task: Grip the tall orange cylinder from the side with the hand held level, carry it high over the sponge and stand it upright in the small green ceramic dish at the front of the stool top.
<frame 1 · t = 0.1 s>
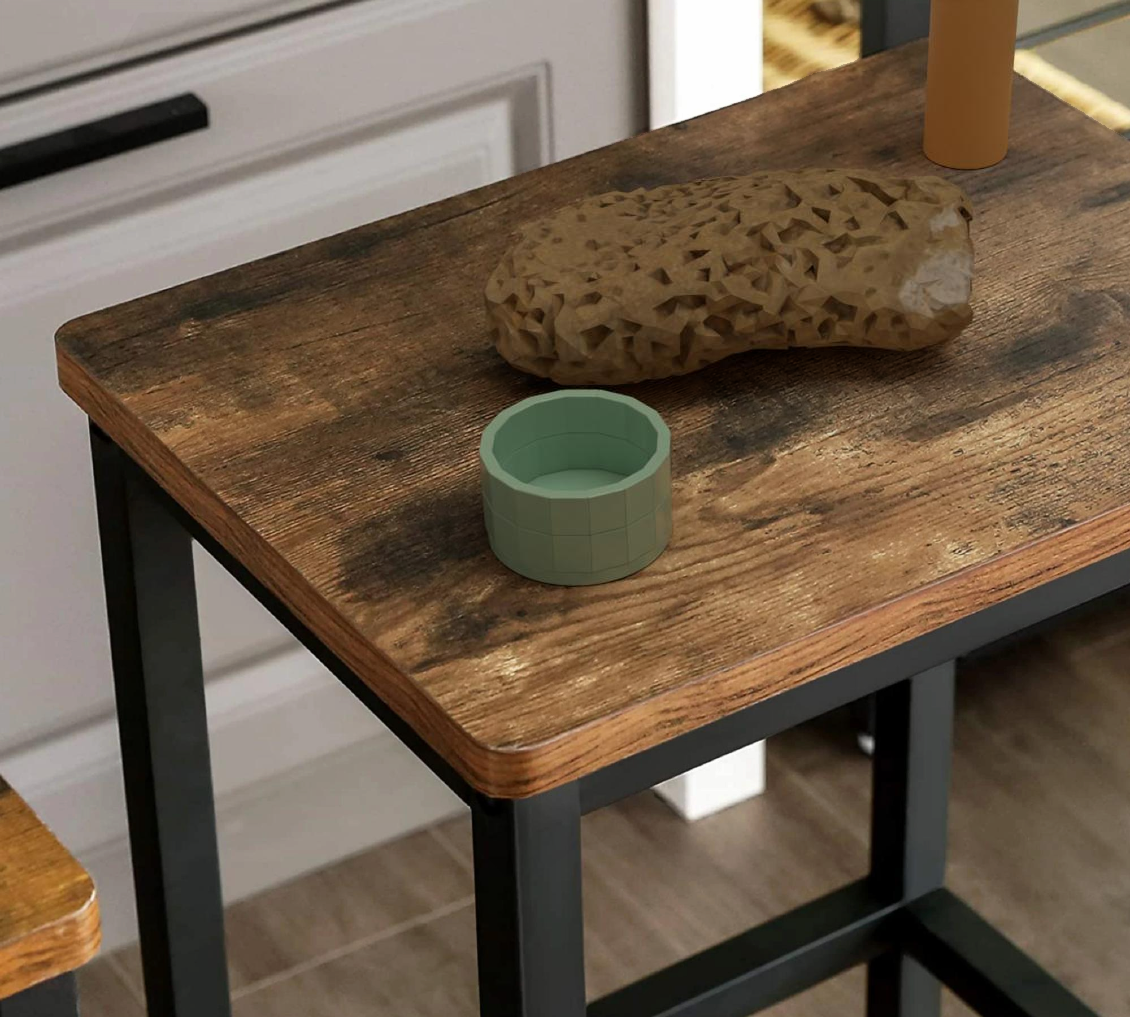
green ceramic dish: (580, 528, 82), on the table
tall orange cylinder: (964, 150, 105), on the table
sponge: (732, 345, 92), on the table
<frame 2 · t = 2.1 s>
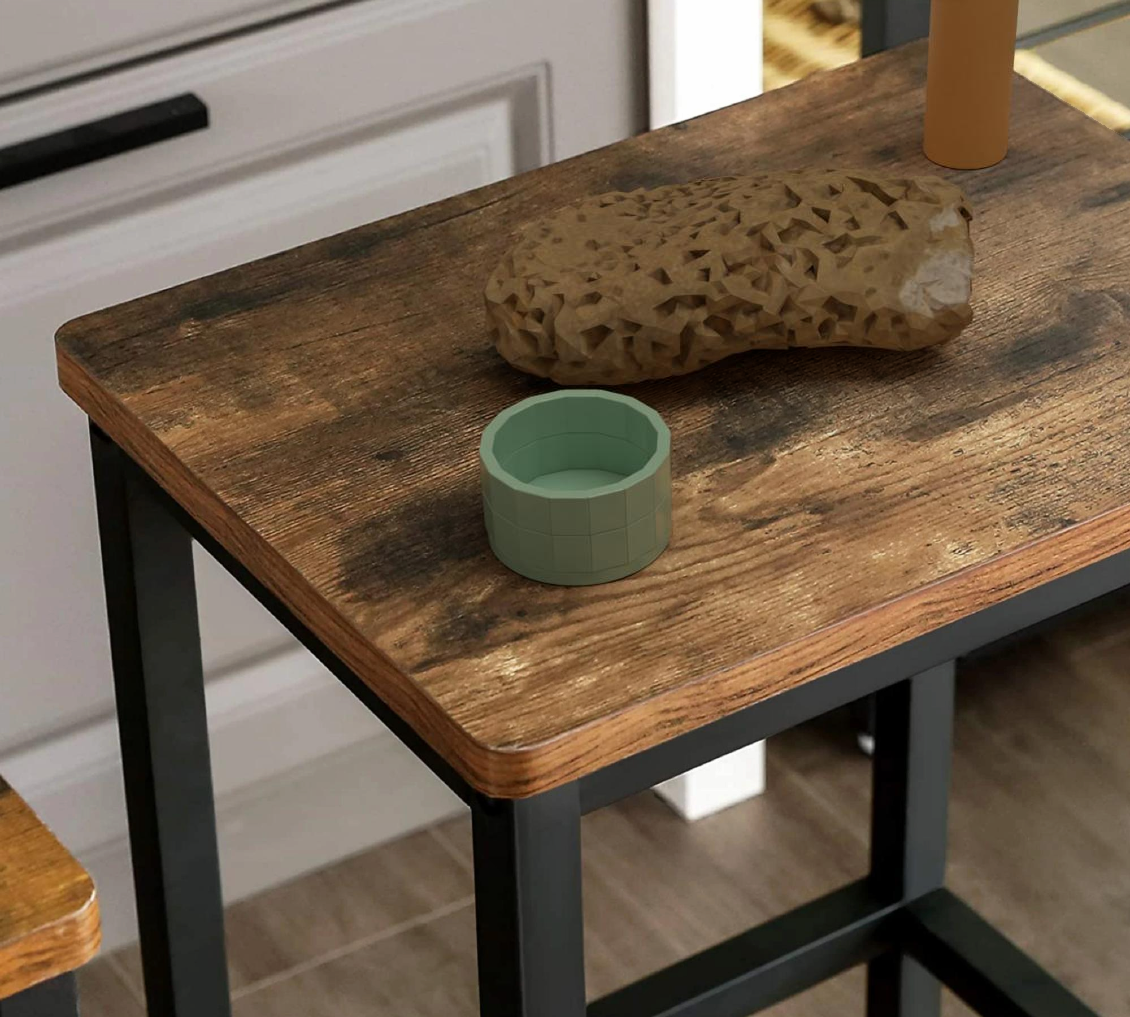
nothing on the table moved.
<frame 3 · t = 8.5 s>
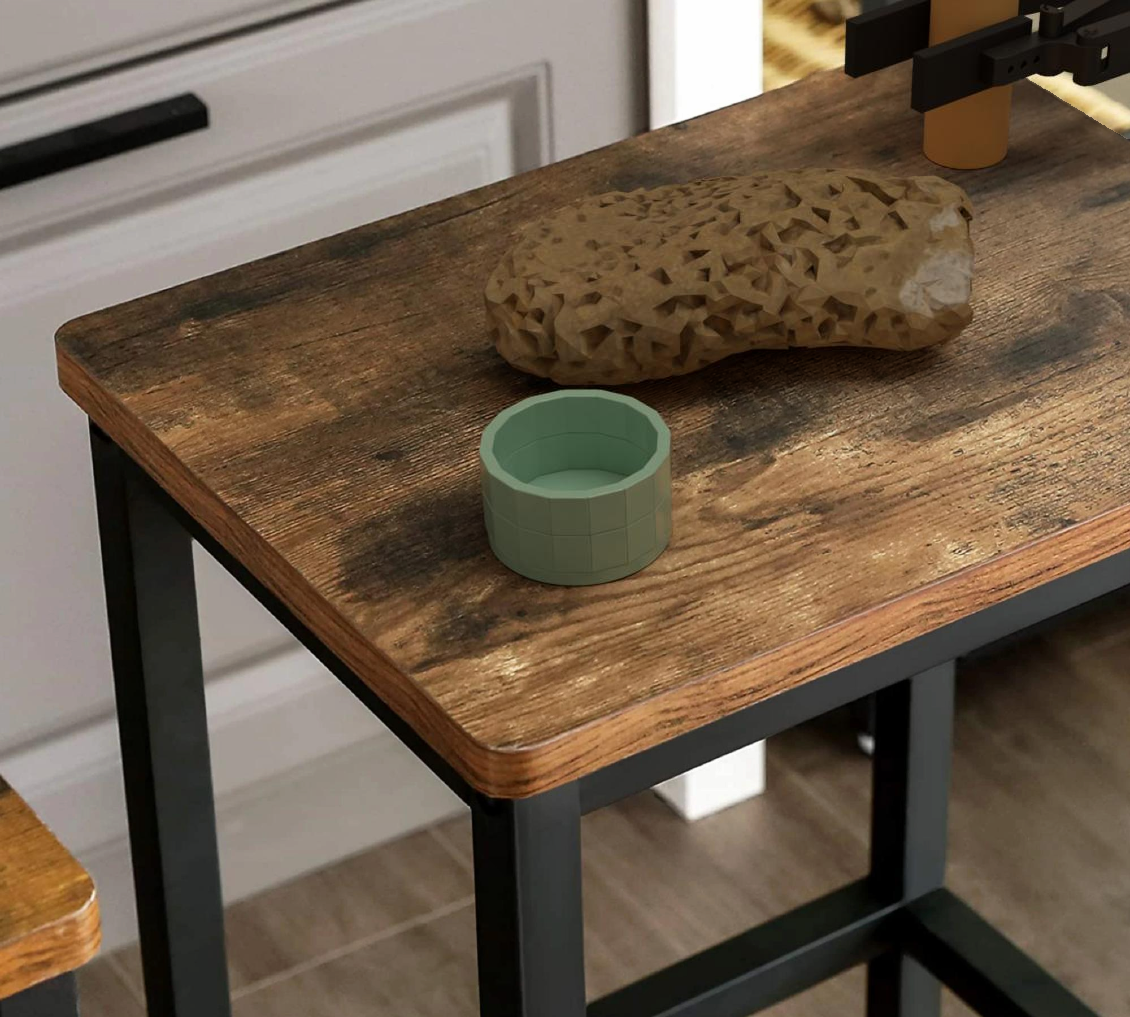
hand: (884, 65, 99), 6 cm above the table, tool horizontal, fingers closed on tall orange cylinder, 4 cm apart
tall orange cylinder: (964, 150, 105), on the table, touching gripper
everything else where it was.
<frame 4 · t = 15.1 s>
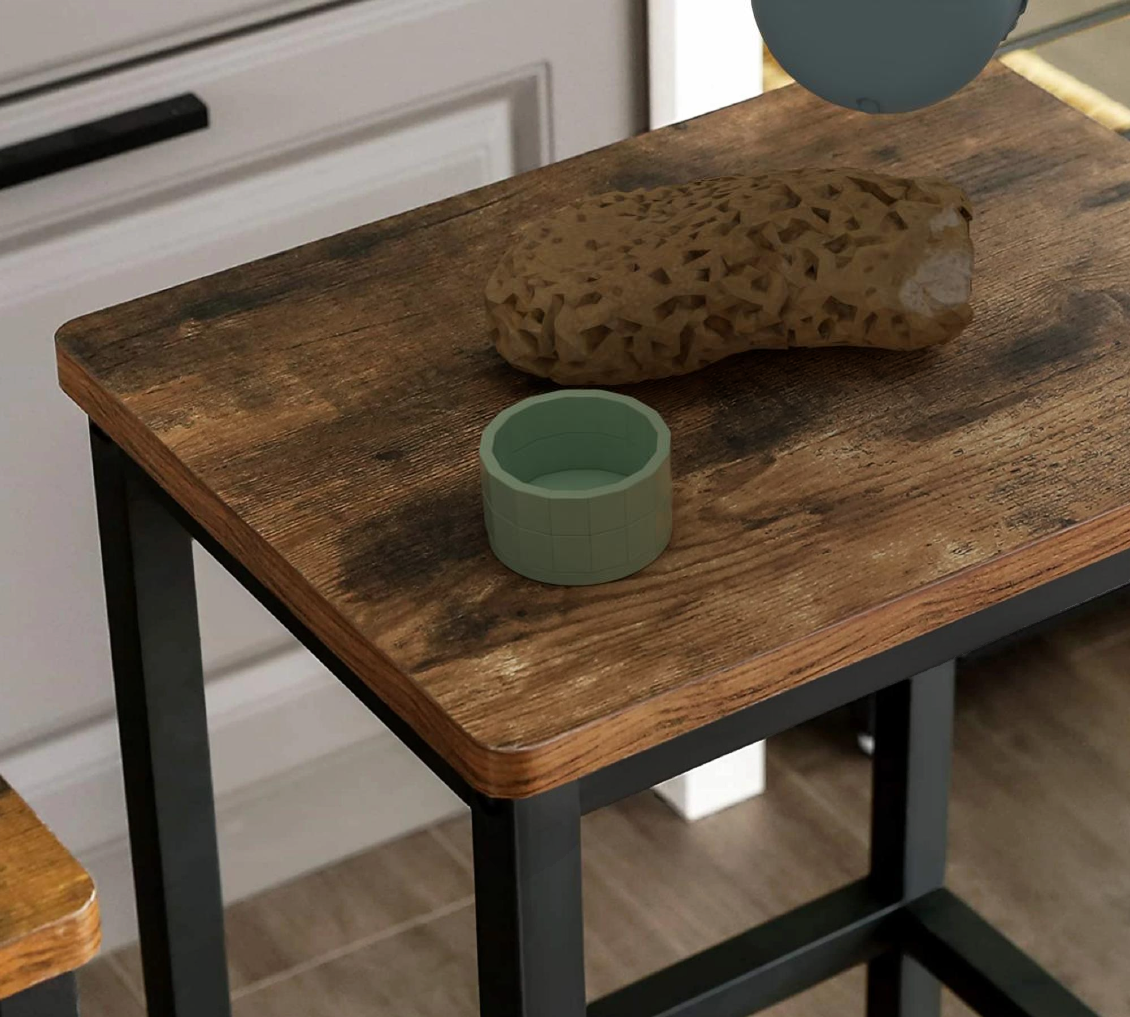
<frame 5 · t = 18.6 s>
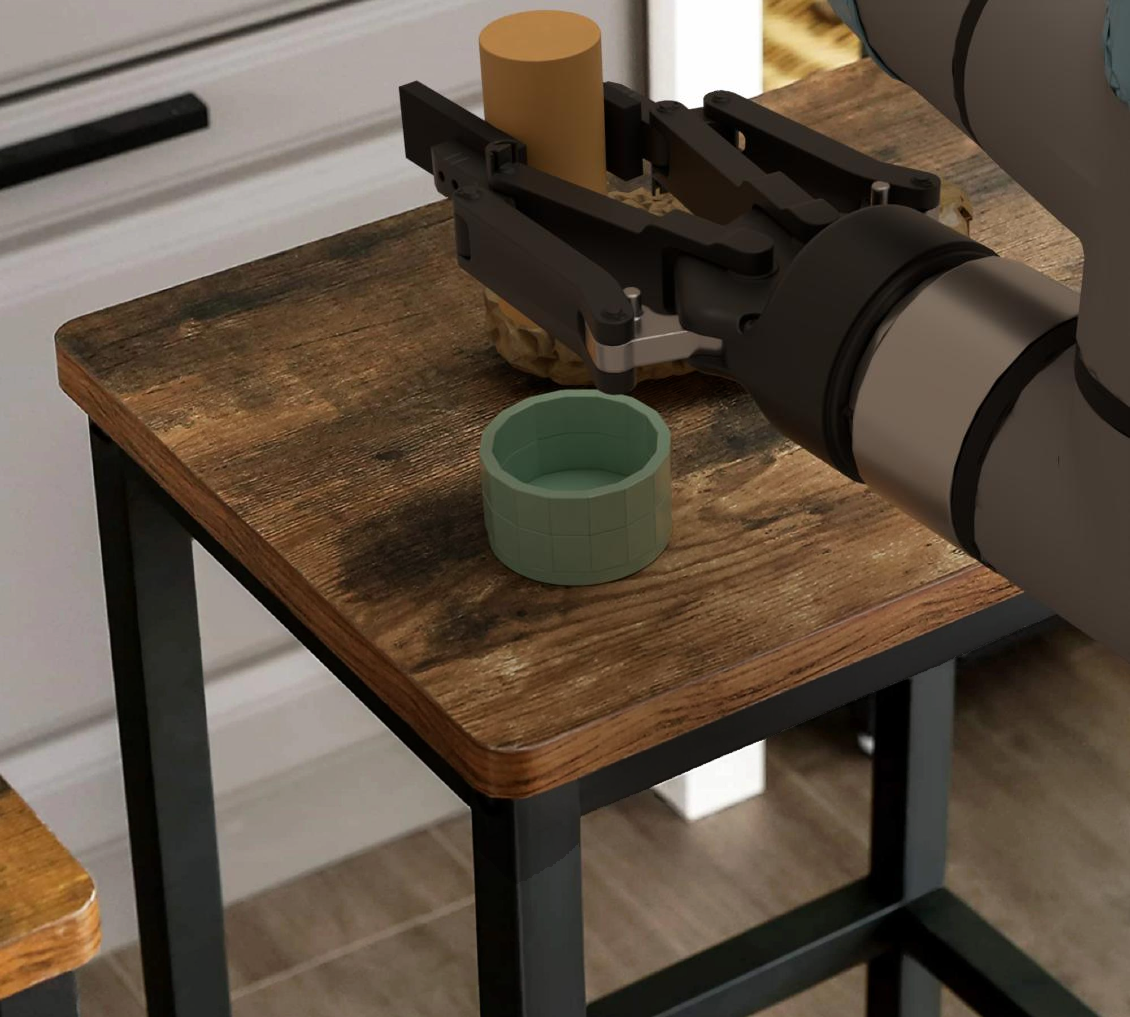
hand: (468, 99, 76), 16 cm above the table, tool horizontal, fingers closed on tall orange cylinder, 4 cm apart
tall orange cylinder: (554, 299, 76), point 10 cm above the table, touching gripper
everything else where it was.
when the fingers open (7 cm above the table, at t = 21.6 s): tall orange cylinder stays where it is, resting on green ceramic dish.
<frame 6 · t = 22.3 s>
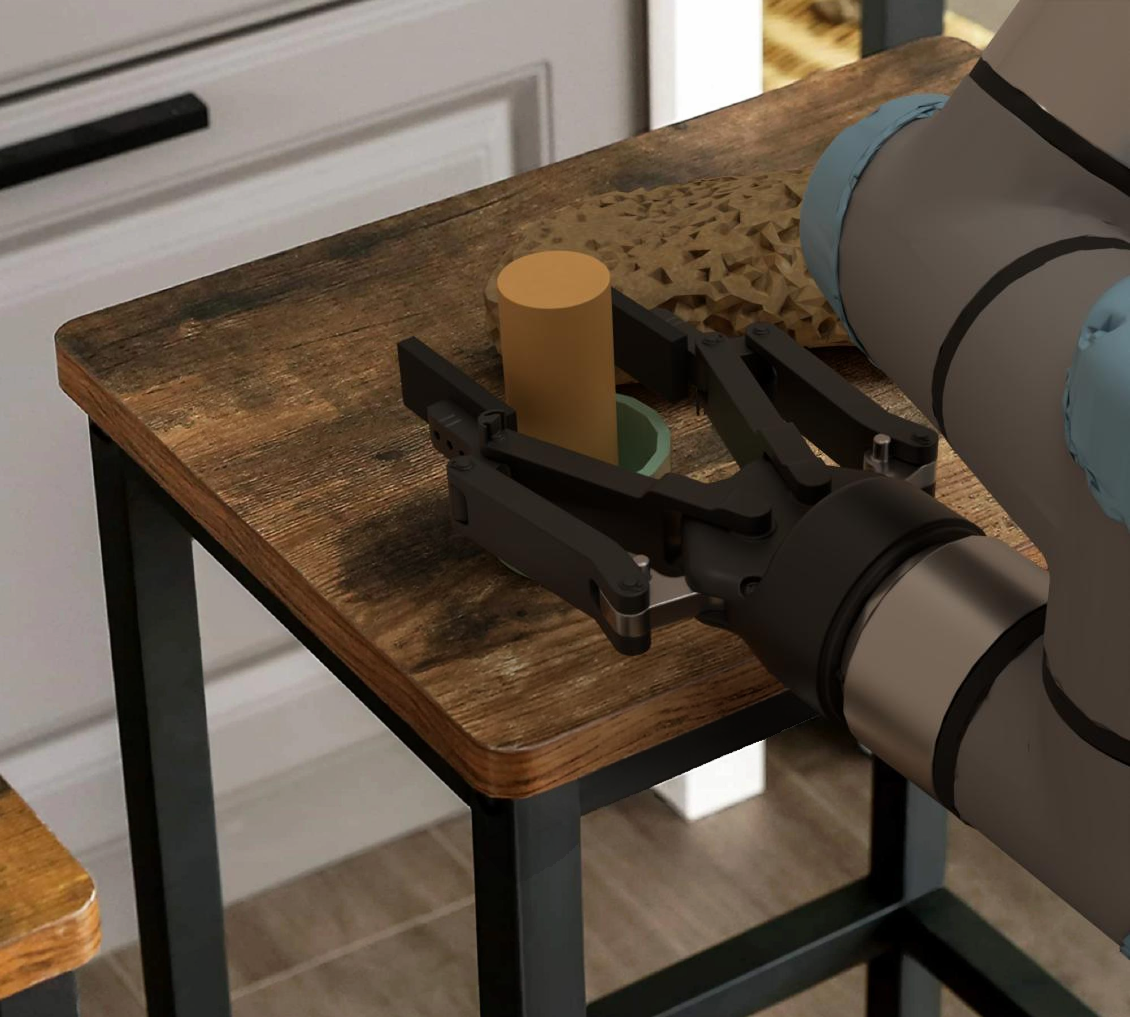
hand: (493, 335, 81), 6 cm above the table, tool horizontal, fingers open, 7 cm apart
tall orange cylinder: (567, 507, 82), point 1 cm above the table, touching green ceramic dish
everything else where it was.
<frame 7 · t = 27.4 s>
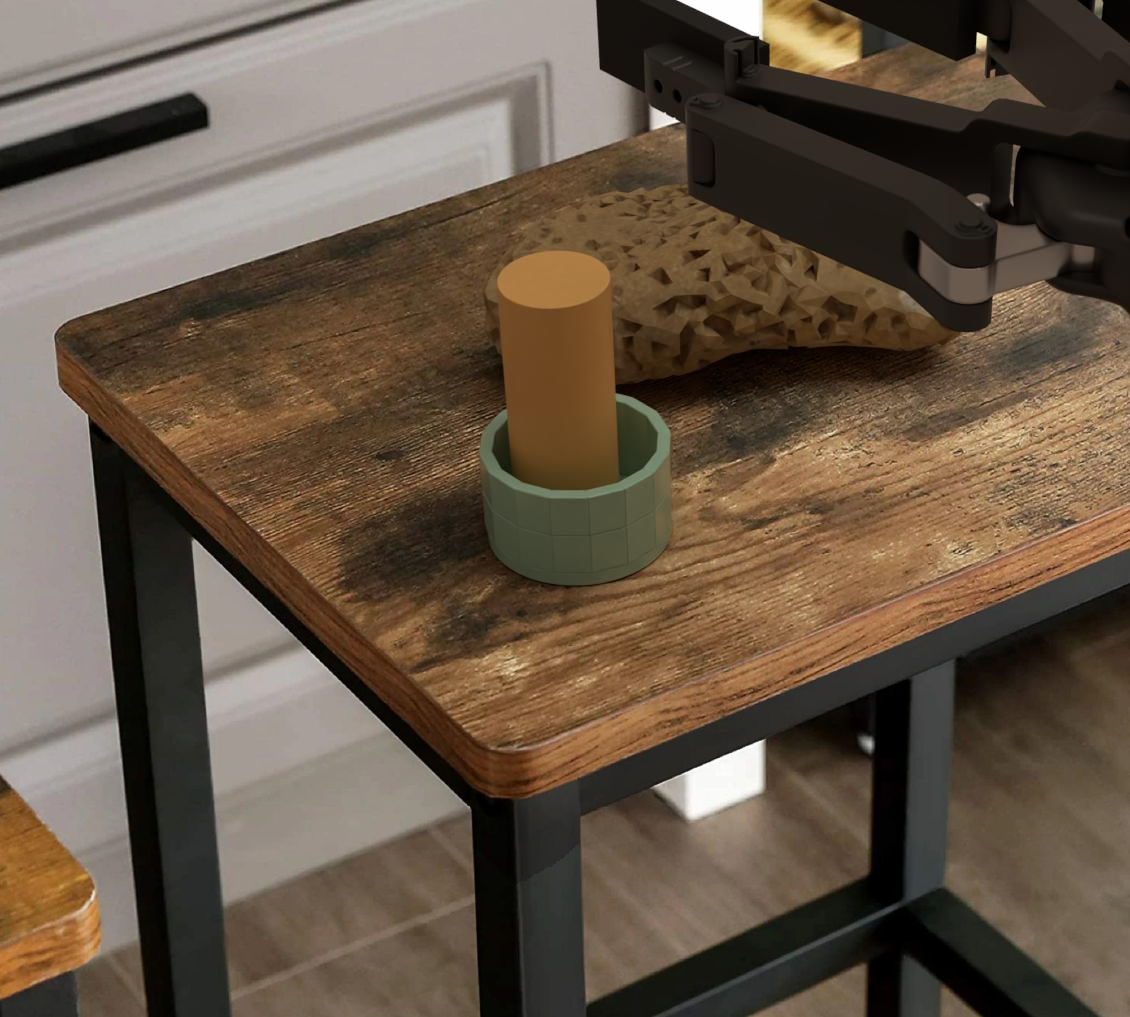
nothing on the table moved.
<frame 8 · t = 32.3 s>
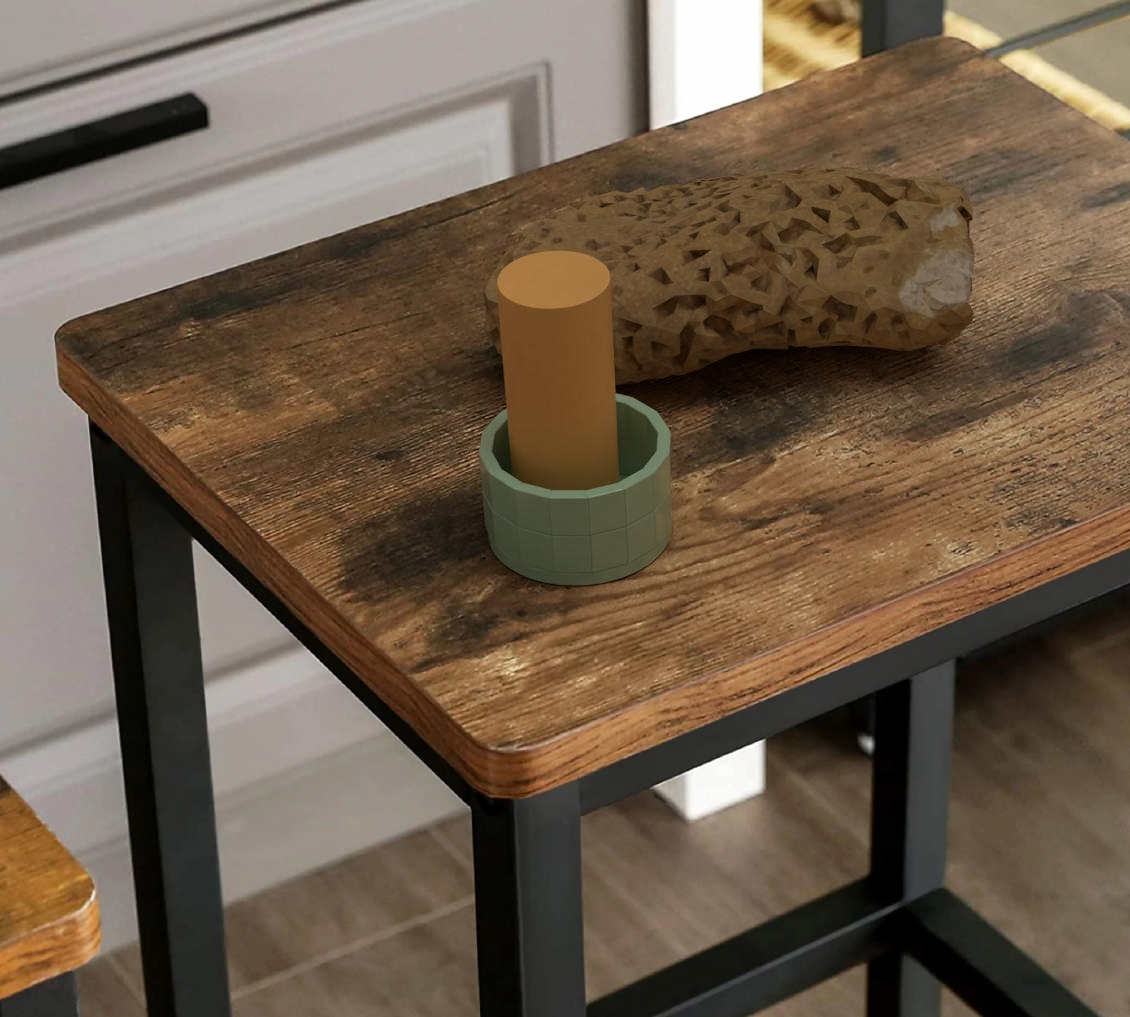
nothing on the table moved.
at the end: tall orange cylinder 0.7 cm off-centre in the green ceramic dish, point 0.6 cm above the green ceramic dish's base; tall orange cylinder tilted 0°; the gripper is holding nothing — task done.
